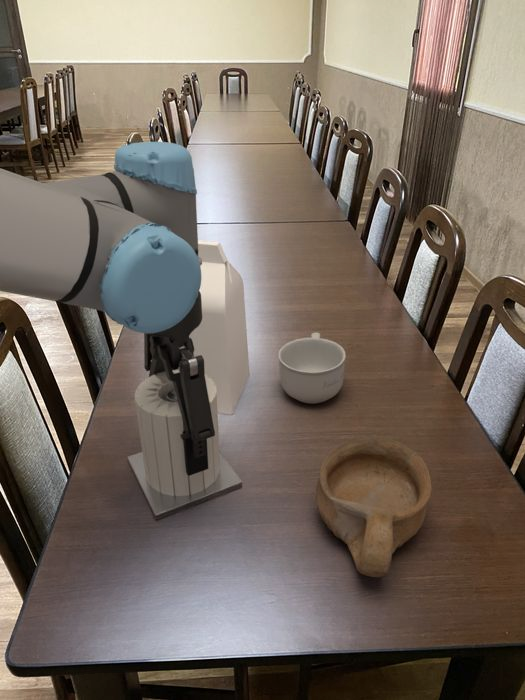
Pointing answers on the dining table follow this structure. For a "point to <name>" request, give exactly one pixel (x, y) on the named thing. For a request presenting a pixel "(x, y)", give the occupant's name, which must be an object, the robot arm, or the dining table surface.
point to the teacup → (312, 368)
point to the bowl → (373, 498)
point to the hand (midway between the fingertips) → (180, 444)
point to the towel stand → (173, 504)
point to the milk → (222, 326)
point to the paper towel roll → (171, 438)
